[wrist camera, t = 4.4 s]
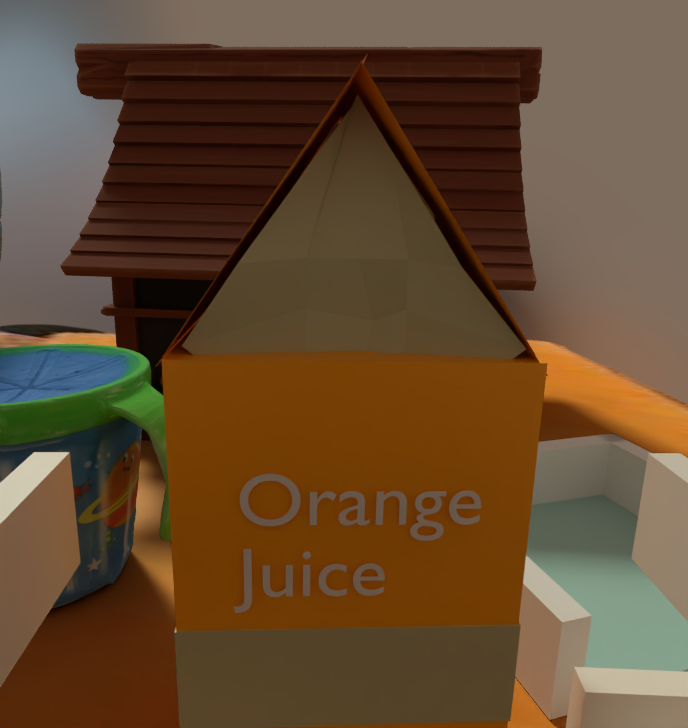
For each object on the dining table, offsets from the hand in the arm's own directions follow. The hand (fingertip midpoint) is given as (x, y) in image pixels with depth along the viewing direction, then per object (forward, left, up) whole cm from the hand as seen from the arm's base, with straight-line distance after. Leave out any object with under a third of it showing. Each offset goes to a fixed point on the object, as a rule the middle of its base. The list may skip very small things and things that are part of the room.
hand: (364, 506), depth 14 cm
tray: (-9, +15, -11) cm, 21 cm away
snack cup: (-17, -10, -11) cm, 22 cm away
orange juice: (-3, 0, -11) cm, 11 cm away
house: (-38, +8, -11) cm, 40 cm away
